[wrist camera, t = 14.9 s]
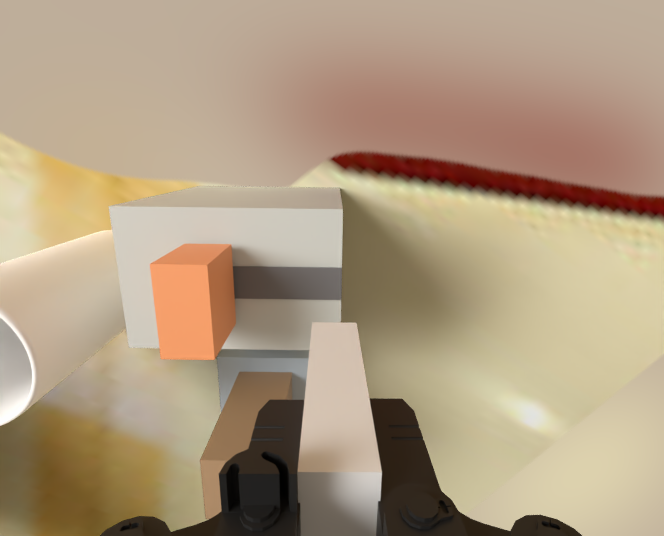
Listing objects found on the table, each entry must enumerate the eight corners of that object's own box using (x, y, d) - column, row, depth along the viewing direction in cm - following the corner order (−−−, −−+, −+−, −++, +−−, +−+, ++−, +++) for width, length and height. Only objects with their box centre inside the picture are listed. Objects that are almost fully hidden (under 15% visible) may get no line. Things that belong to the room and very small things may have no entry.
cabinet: (206, 279, 36) (128, 354, 22) (199, 185, 34) (107, 206, 20) (338, 281, 36) (340, 357, 22) (339, 187, 34) (343, 209, 20)
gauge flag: (192, 322, 21) (160, 359, 18) (184, 243, 20) (149, 263, 16) (236, 323, 21) (214, 360, 18) (231, 244, 20) (207, 264, 16)
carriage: (233, 402, 38) (179, 534, 25) (228, 337, 36) (167, 441, 23) (315, 404, 38) (305, 536, 25) (315, 338, 36) (304, 443, 23)
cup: (182, 280, 36) (68, 373, 21) (121, 332, 37) (-27, 455, 22) (115, 210, 34) (-64, 255, 19) (54, 268, 36) (-158, 353, 20)
